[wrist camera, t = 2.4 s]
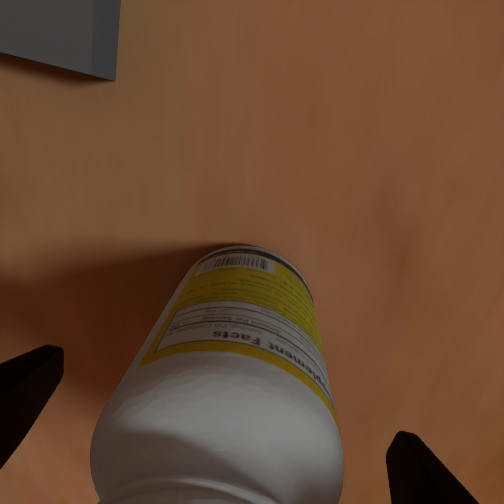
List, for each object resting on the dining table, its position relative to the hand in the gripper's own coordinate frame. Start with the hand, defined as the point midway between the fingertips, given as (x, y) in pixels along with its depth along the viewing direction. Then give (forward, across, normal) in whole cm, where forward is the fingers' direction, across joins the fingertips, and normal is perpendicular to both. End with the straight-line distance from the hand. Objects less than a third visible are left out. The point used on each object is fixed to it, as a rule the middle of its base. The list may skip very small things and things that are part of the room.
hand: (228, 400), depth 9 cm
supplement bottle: (+5, 0, 0) cm, 5 cm away
